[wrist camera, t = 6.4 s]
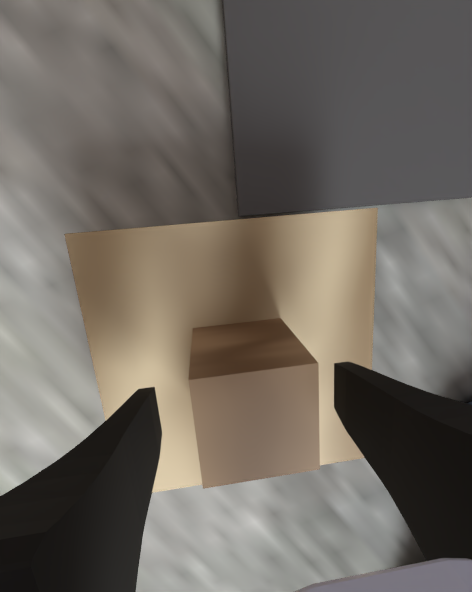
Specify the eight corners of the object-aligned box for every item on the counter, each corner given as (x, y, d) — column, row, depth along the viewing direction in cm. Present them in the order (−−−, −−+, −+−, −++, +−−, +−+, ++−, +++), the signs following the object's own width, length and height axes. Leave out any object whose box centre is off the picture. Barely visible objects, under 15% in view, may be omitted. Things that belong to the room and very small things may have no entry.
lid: (369, 208, 13) (469, 199, 8) (362, 449, 16) (431, 544, 12) (71, 233, 12) (-18, 240, 7) (125, 487, 15) (89, 611, 10)
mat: (498, -101, 14) (508, -113, 14) (466, 197, 18) (473, 197, 17) (214, -107, 13) (214, -119, 13) (238, 216, 17) (239, 216, 16)
